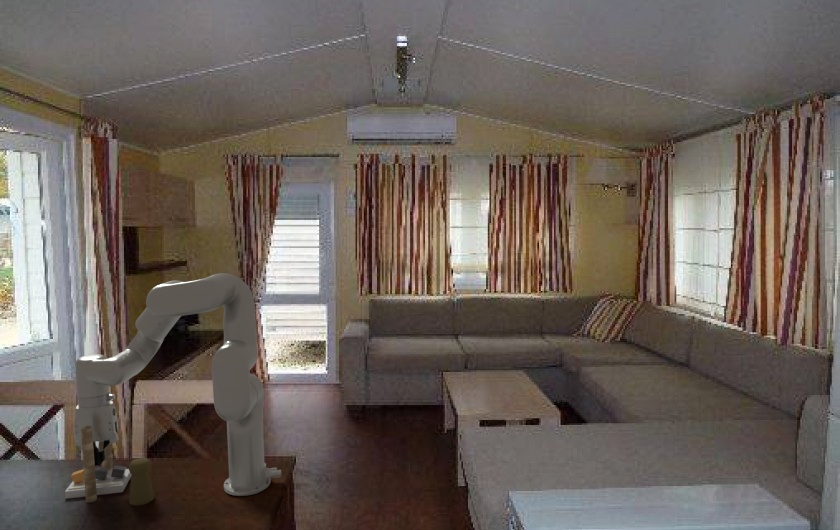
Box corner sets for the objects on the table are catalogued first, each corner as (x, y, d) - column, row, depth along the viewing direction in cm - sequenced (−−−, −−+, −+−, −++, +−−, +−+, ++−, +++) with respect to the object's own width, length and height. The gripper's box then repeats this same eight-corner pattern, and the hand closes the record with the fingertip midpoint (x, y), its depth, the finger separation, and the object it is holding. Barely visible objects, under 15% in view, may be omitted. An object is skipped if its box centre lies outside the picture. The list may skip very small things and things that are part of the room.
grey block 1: (106, 476, 160) (108, 468, 160) (104, 480, 158) (106, 472, 158) (95, 475, 159) (97, 467, 159) (93, 478, 157) (94, 470, 157)
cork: (144, 506, 148) (141, 466, 147) (123, 504, 149) (121, 464, 148) (159, 494, 154) (156, 456, 153) (139, 492, 155) (137, 454, 154)
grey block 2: (124, 475, 161) (126, 466, 161) (122, 478, 159) (124, 470, 159) (112, 473, 160) (114, 465, 160) (110, 476, 158) (112, 468, 158)
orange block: (87, 476, 159) (84, 468, 158) (85, 479, 157) (82, 471, 156) (76, 480, 158) (73, 472, 158) (74, 483, 156) (70, 475, 156)
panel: (131, 475, 165) (131, 467, 165) (122, 492, 155) (122, 484, 155) (78, 480, 162) (77, 473, 162) (65, 498, 152) (64, 490, 152)
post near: (98, 496, 153) (93, 425, 151) (95, 501, 150) (90, 429, 148) (87, 498, 152) (82, 426, 150) (84, 503, 150) (79, 430, 148)
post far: (114, 471, 167) (109, 405, 165) (111, 475, 165) (107, 409, 163) (104, 472, 167) (99, 406, 165) (101, 476, 164) (96, 409, 162)
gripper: (127, 393, 161) (131, 455, 163) (68, 397, 158) (73, 461, 160) (120, 402, 154) (124, 466, 156) (58, 407, 150) (63, 473, 153)
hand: (98, 463), depth 158 cm, fingers closed
